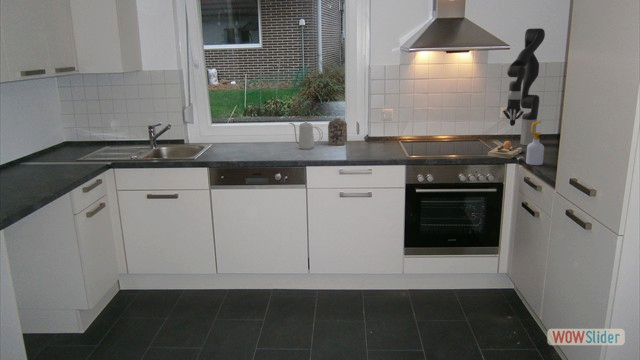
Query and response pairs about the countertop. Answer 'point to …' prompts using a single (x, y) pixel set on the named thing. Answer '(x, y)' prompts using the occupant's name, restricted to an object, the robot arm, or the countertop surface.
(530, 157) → the soap bottle
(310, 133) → the coffeepot
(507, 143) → the ball
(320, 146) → the countertop surface
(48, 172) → the countertop surface
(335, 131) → the decorative jar
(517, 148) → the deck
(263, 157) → the countertop surface
